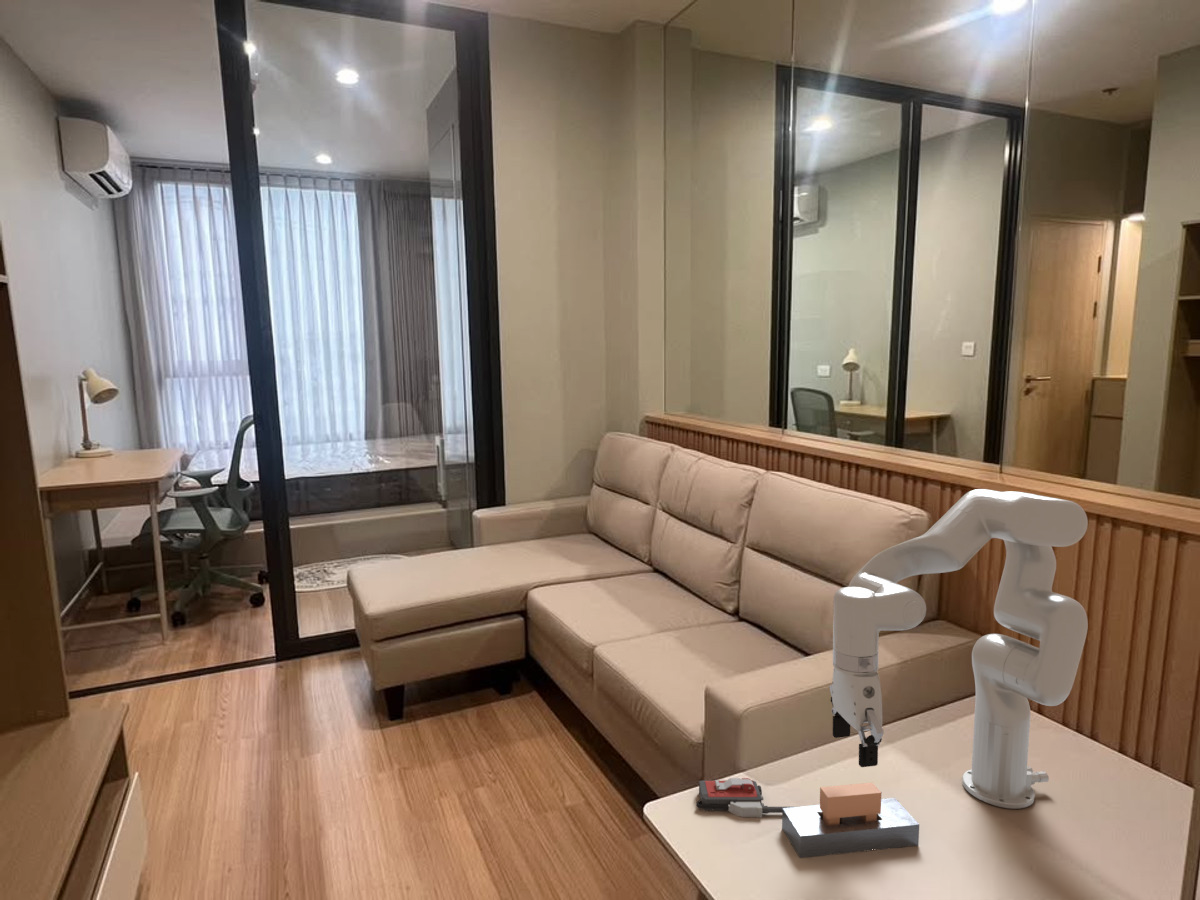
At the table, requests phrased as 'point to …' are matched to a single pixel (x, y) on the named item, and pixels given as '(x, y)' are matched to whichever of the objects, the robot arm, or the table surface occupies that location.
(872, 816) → the tan forked block
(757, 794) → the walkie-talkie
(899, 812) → the metal socket block
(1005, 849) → the table surface
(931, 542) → the robot arm
